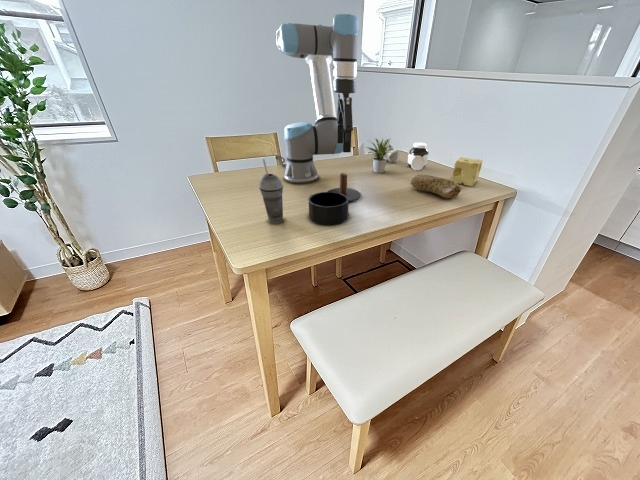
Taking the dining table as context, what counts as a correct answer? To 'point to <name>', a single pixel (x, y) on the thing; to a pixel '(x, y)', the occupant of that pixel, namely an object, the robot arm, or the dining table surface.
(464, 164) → the cheese
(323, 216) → the black round bowl
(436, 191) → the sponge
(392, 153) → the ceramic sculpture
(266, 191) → the beverage cup
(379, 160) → the house plant
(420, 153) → the spread jar
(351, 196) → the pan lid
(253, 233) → the dining table surface
